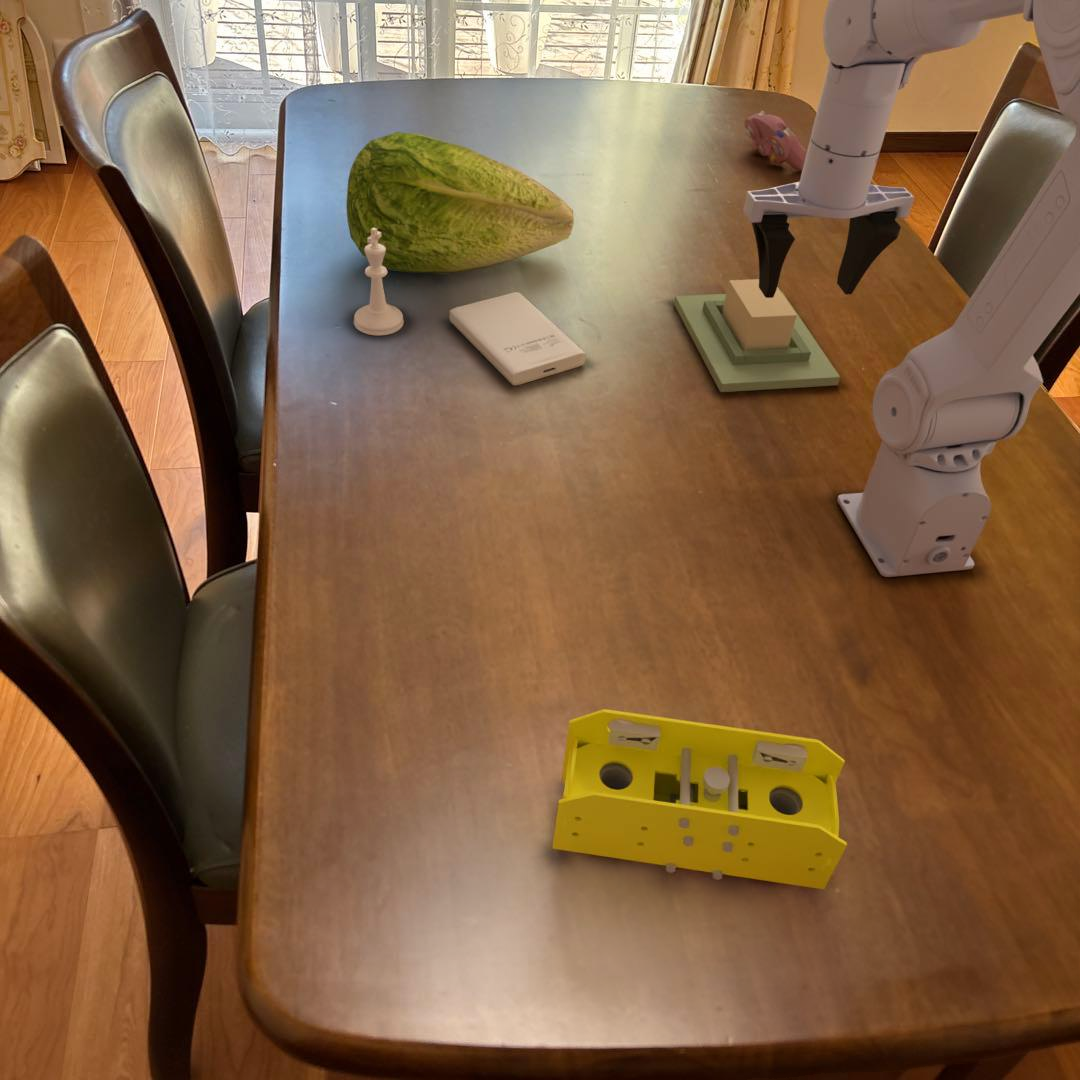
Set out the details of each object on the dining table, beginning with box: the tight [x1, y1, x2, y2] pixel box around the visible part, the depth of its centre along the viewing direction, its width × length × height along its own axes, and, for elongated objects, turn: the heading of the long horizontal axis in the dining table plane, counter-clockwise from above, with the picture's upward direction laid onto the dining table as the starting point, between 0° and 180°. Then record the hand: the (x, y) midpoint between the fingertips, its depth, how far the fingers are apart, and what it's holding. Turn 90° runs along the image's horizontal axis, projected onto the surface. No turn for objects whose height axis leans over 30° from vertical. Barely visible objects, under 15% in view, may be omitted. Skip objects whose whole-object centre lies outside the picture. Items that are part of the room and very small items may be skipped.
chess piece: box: [353, 228, 405, 337], centre depth 99 cm, size 5×5×10 cm
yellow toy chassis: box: [551, 708, 848, 890], centre depth 60 cm, size 16×6×8 cm, turn 83°
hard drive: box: [448, 291, 586, 386], centre depth 100 cm, size 2×8×12 cm
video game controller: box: [744, 110, 807, 172], centre depth 135 cm, size 10×5×7 cm, turn 25°
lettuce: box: [346, 131, 575, 275], centre depth 108 cm, size 15×24×14 cm, turn 99°
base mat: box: [673, 291, 841, 393], centre depth 103 cm, size 16×12×2 cm
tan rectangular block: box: [722, 278, 797, 351], centre depth 101 cm, size 7×5×4 cm, turn 11°
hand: (805, 290), depth 93 cm, fingers open, 7 cm apart
